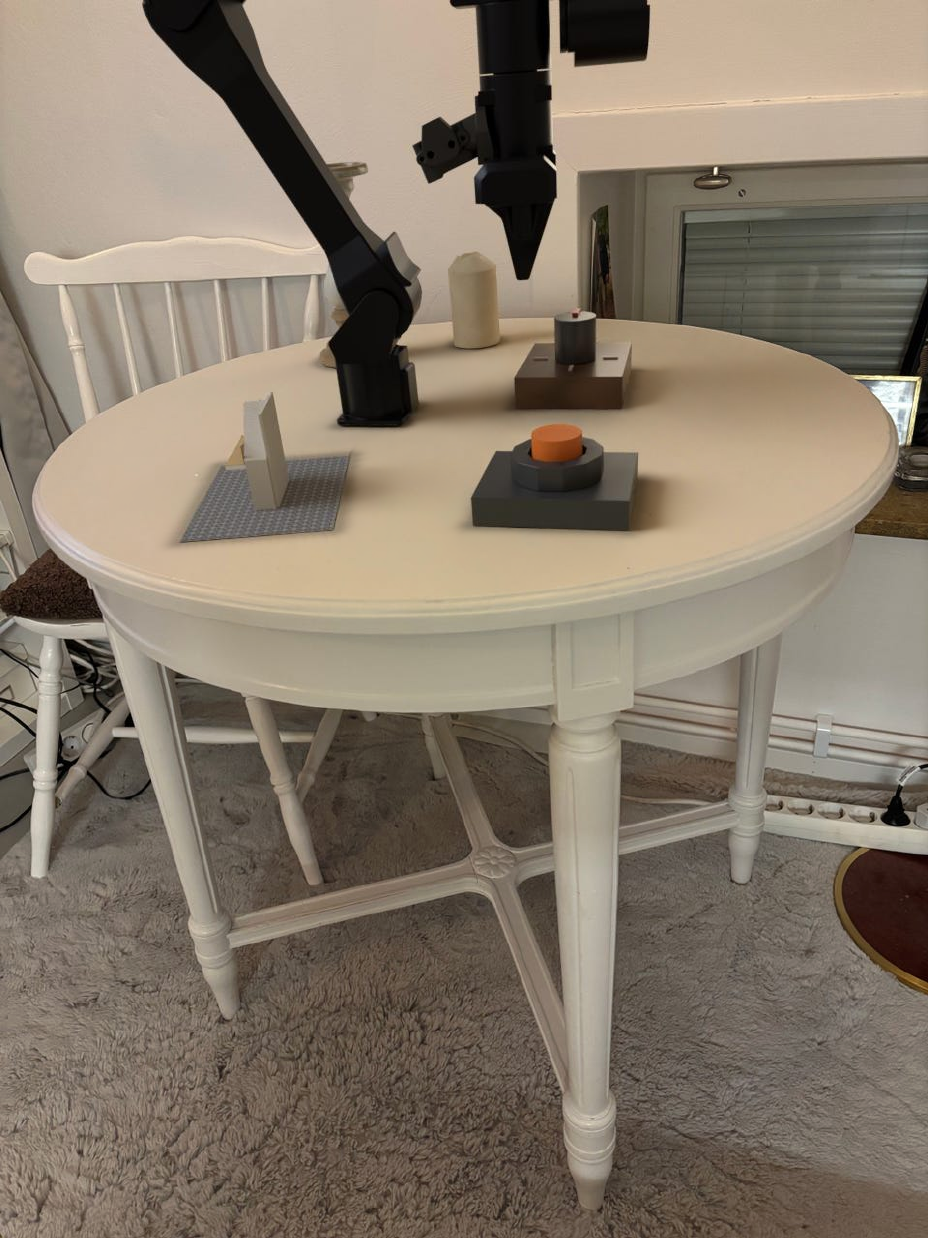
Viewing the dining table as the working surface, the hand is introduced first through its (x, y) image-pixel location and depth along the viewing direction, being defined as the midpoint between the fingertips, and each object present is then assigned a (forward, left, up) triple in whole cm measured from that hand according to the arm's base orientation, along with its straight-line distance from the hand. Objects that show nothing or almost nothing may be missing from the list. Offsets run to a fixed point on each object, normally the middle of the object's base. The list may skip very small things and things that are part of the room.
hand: (522, 279), depth 79 cm
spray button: (+6, -21, -8) cm, 23 cm away
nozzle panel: (+4, +6, -12) cm, 14 cm away
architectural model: (-17, -21, -12) cm, 30 cm away
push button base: (+6, -21, -12) cm, 25 cm away
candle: (-10, +24, -12) cm, 29 cm away
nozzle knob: (+4, +6, -9) cm, 11 cm away
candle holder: (-23, +18, -12) cm, 32 cm away
